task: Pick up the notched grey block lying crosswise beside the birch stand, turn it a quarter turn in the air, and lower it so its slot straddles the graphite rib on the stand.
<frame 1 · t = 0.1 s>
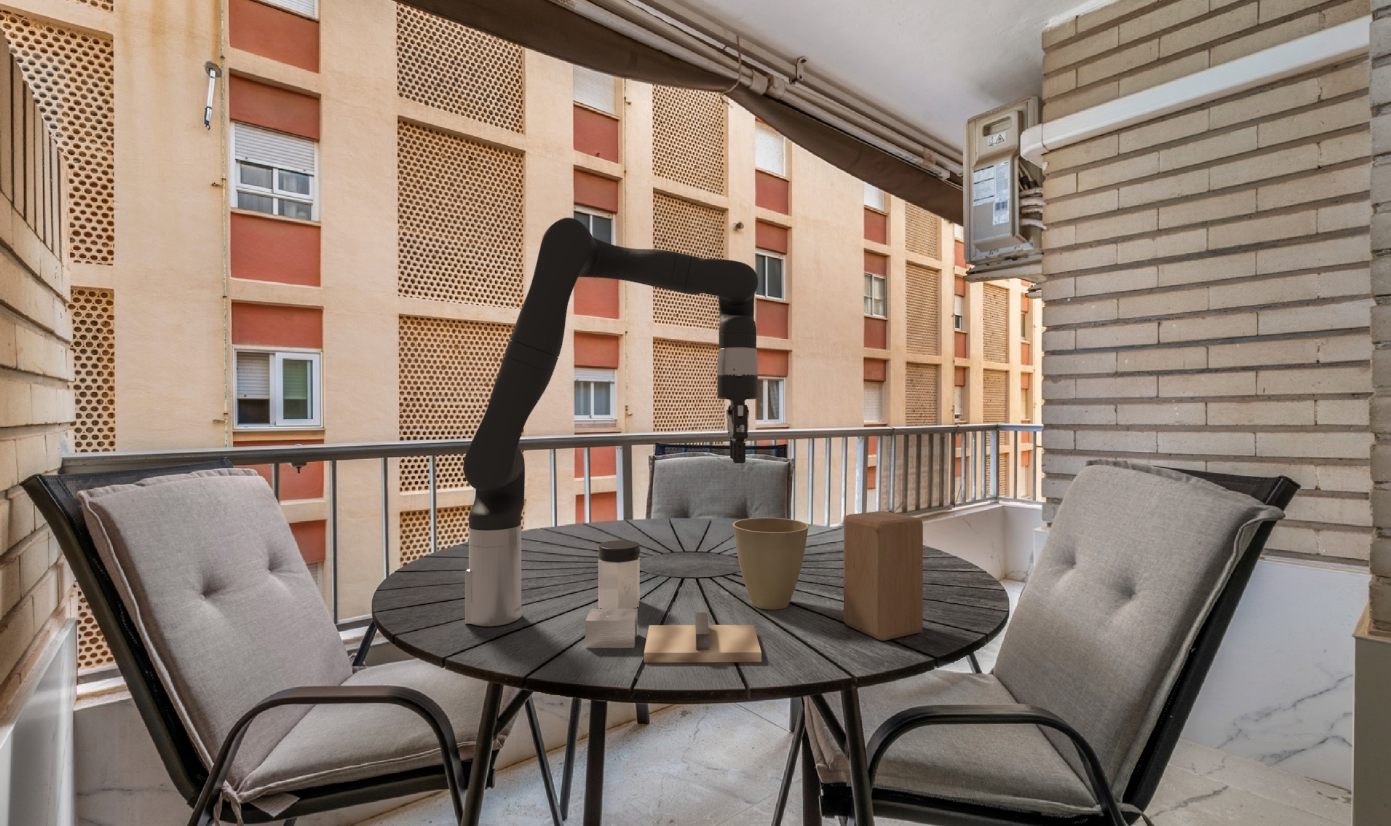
hand: (737, 461, 114), 29 cm above the table, tool pointing down, fingers open, 8 cm apart
stand: (701, 647, 100), on the table
plant pot: (770, 605, 122), on the table
notched grey block: (612, 641, 103), on the table
wooden block: (882, 630, 108), on the table
jar: (619, 605, 122), on the table
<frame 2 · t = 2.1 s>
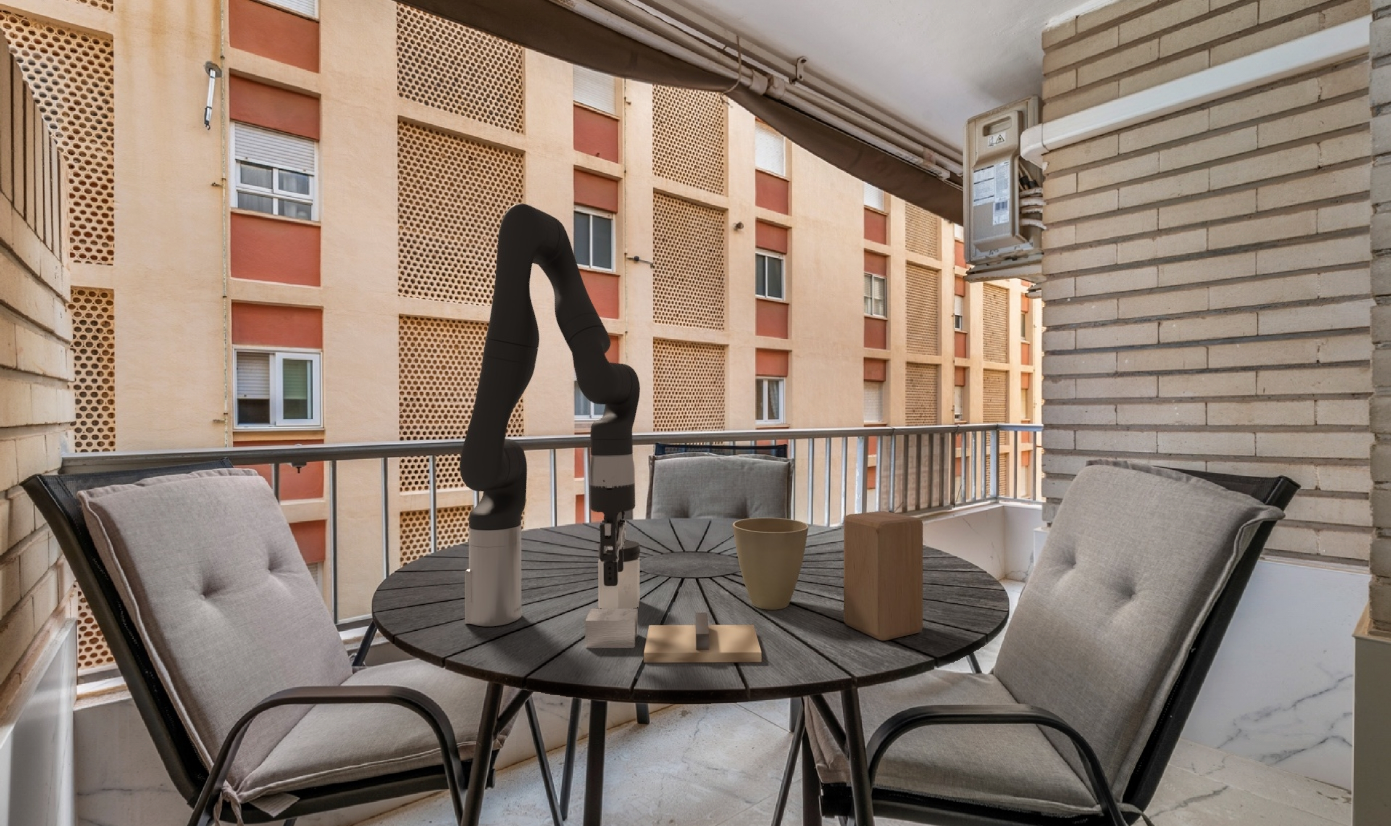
hand: (614, 578, 103), 10 cm above the table, tool pointing down, fingers open, 8 cm apart
nothing on the table moved.
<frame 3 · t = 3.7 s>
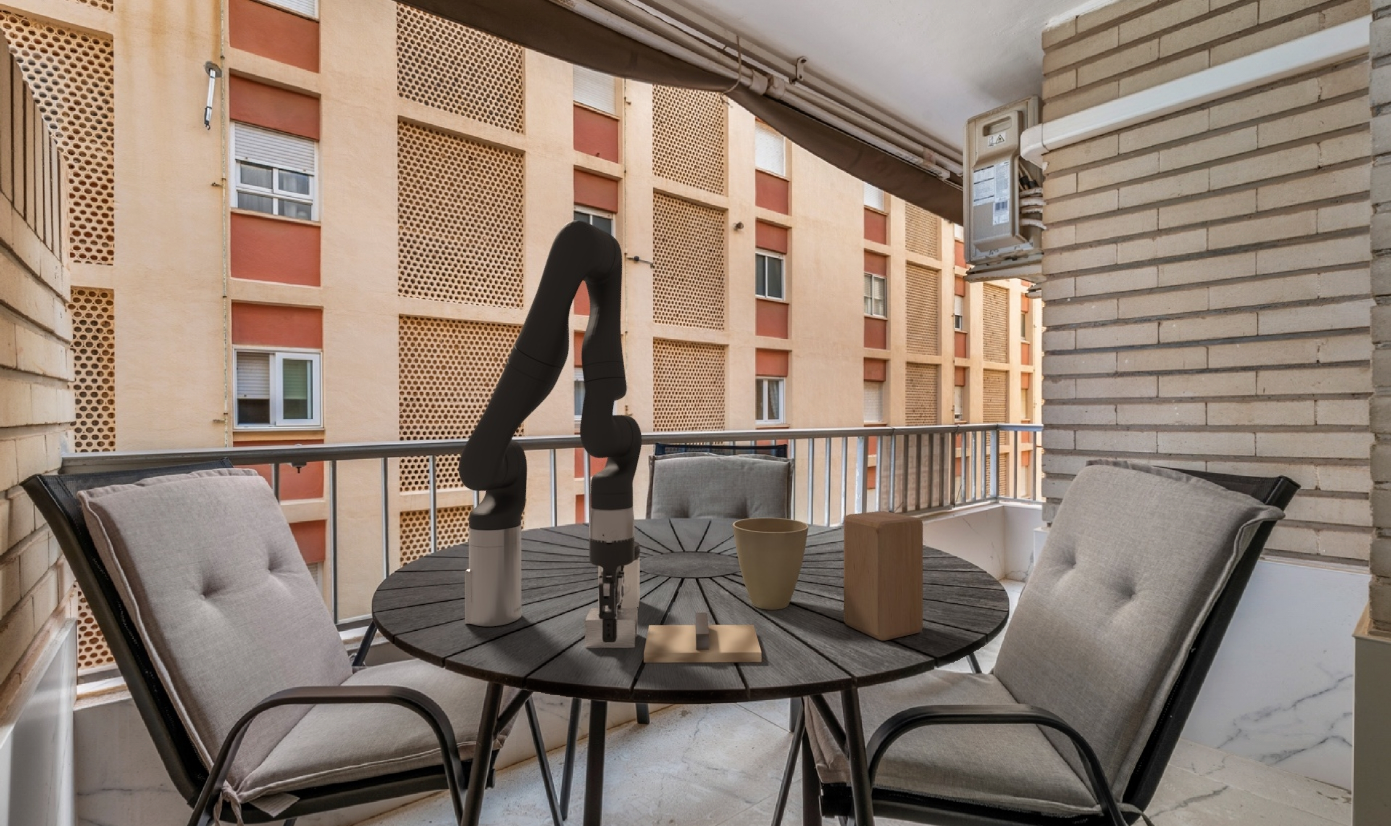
hand: (612, 633, 103), 1 cm above the table, tool pointing down, fingers closed on notched grey block, 6 cm apart
notched grey block: (612, 640, 103), on the table, touching gripper
everything else where it was.
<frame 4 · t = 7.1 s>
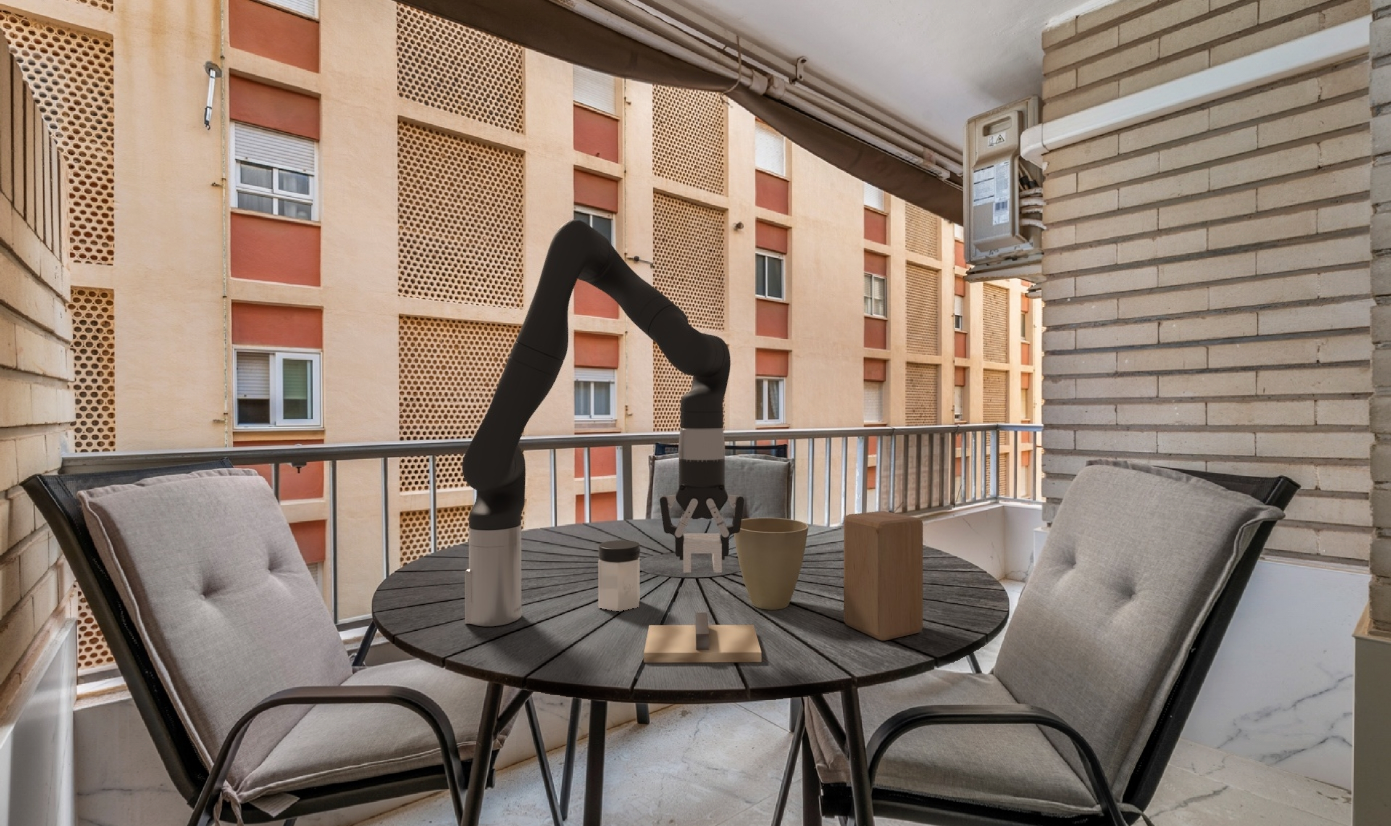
hand: (701, 558, 100), 14 cm above the table, tool pointing down, fingers closed on notched grey block, 6 cm apart
notched grey block: (702, 565, 100), point 13 cm above the table, touching gripper
everything else where it was.
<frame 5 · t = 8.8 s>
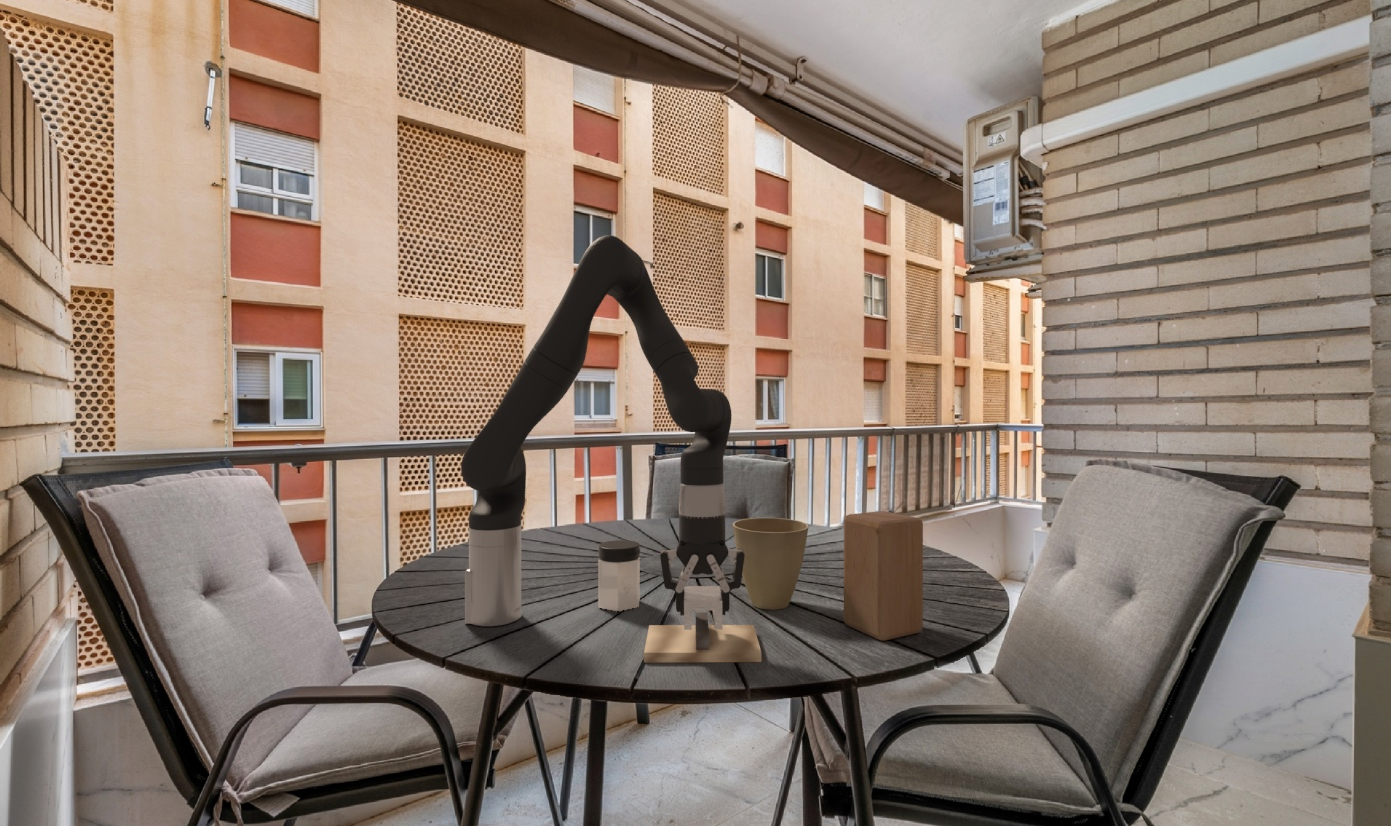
hand: (702, 613, 100), 5 cm above the table, tool pointing down, fingers closed on notched grey block, 6 cm apart
notched grey block: (702, 620, 100), point 4 cm above the table, touching gripper
everything else where it was.
when the fingers open (4 cm above the table, at t = 10.3 s): notched grey block stays where it is, resting on stand.
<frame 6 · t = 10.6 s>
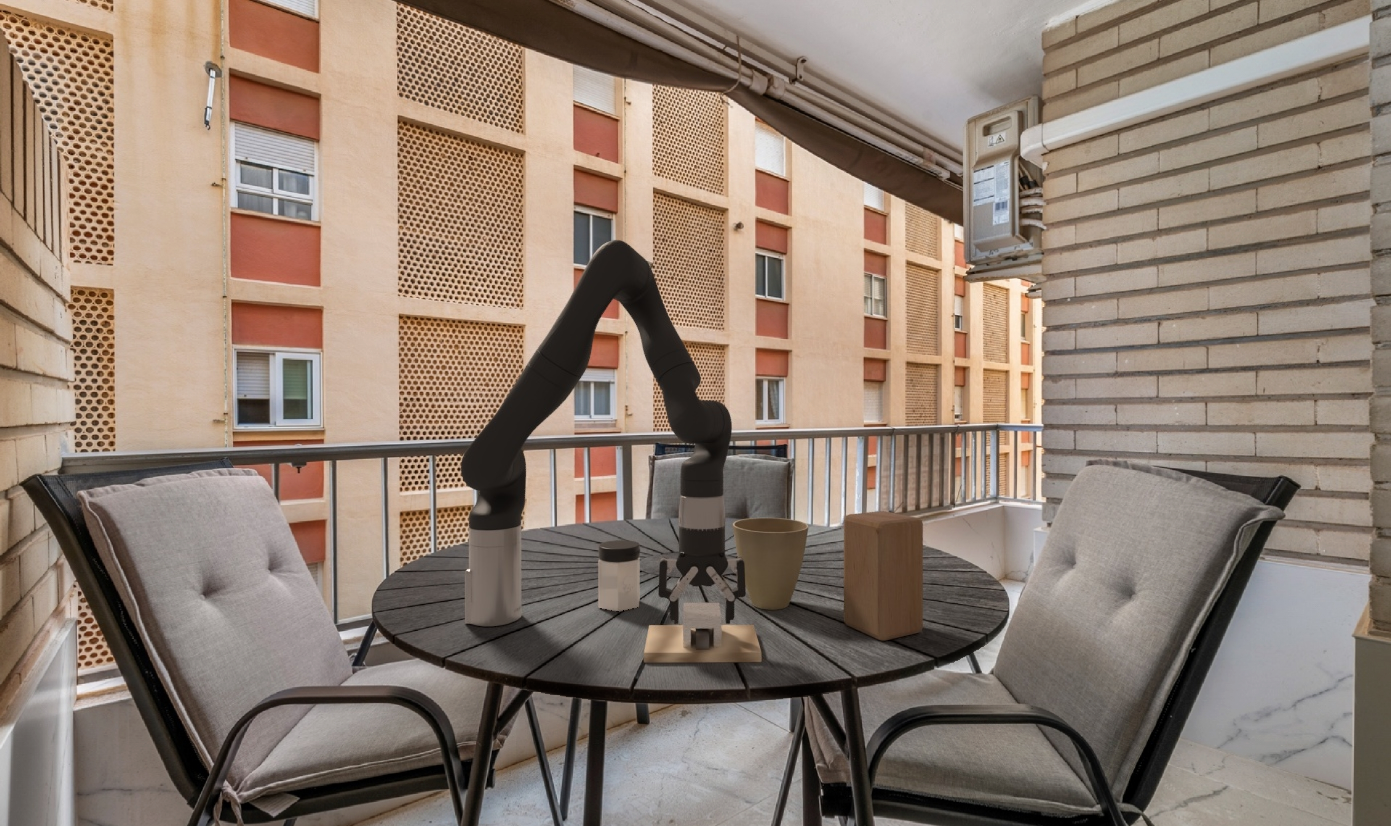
hand: (701, 622, 100), 4 cm above the table, tool pointing down, fingers open, 8 cm apart
notched grey block: (701, 638, 100), point 1 cm above the table, touching stand
everything else where it was.
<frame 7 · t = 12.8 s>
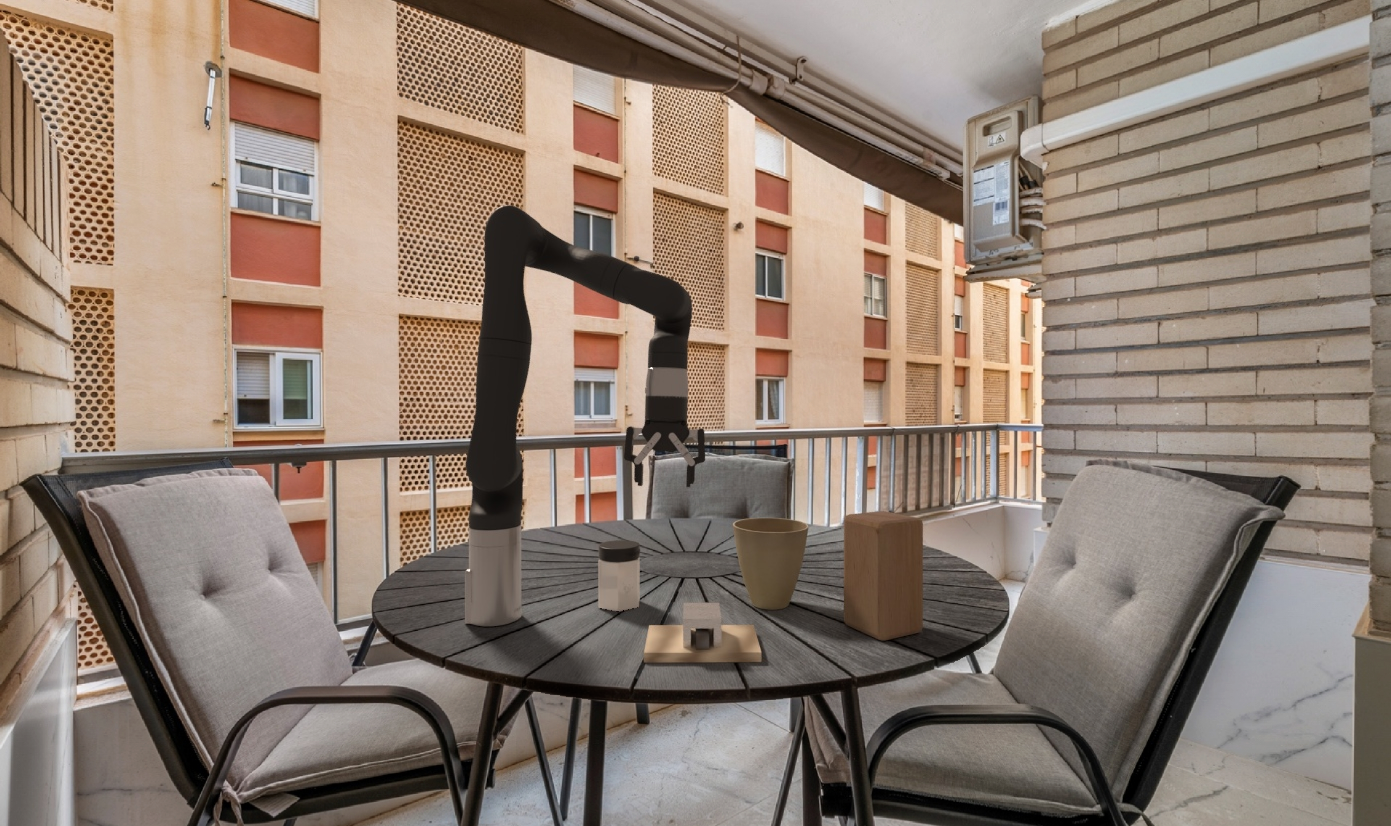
hand: (664, 486, 109), 25 cm above the table, tool pointing down, fingers open, 8 cm apart
nothing on the table moved.
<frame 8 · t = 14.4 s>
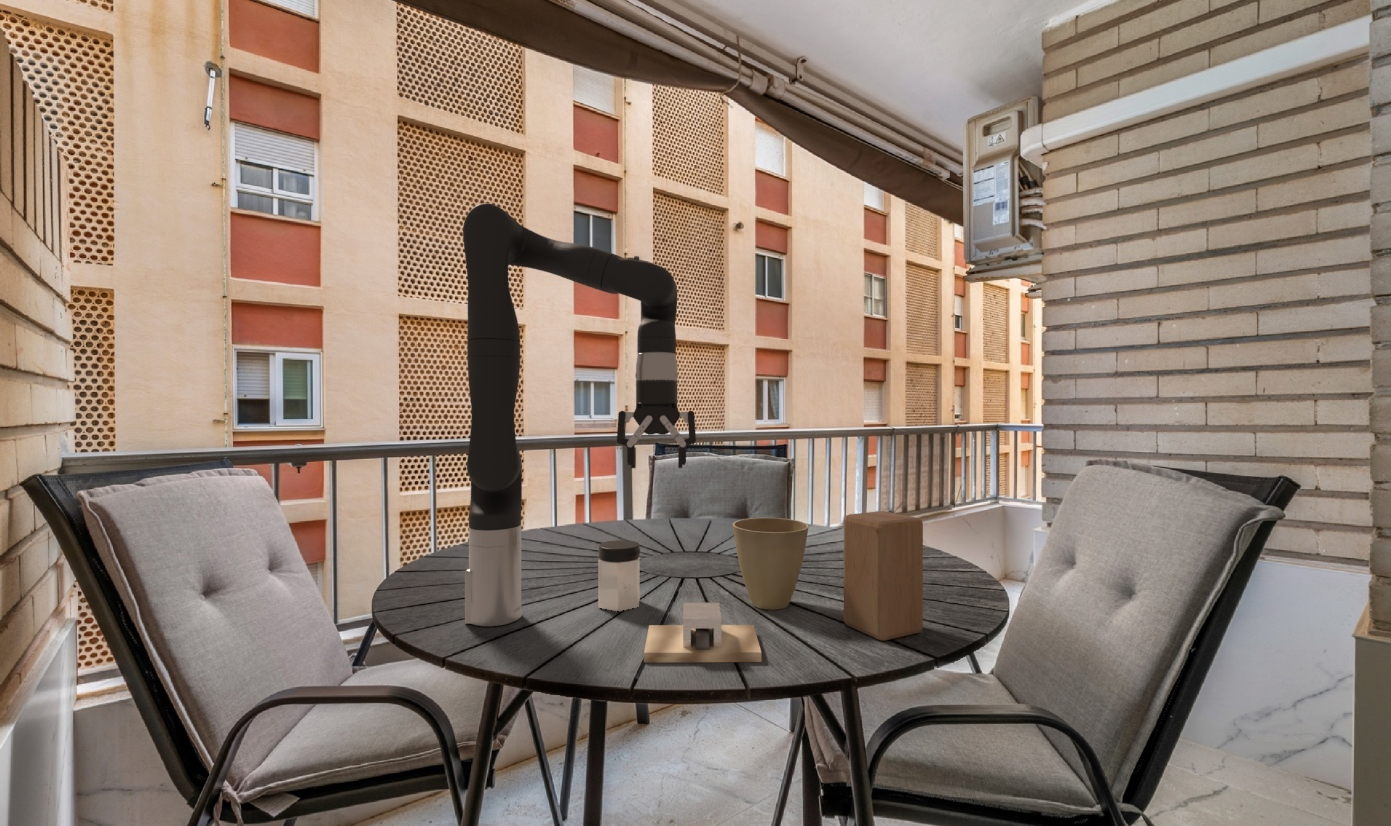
hand: (656, 467, 112), 28 cm above the table, tool pointing down, fingers open, 8 cm apart
nothing on the table moved.
at the end: notched grey block 0.0 cm off-centre on the stand, point 1.5 cm above the stand's base; notched grey block tilted 0°; the gripper is holding nothing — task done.
